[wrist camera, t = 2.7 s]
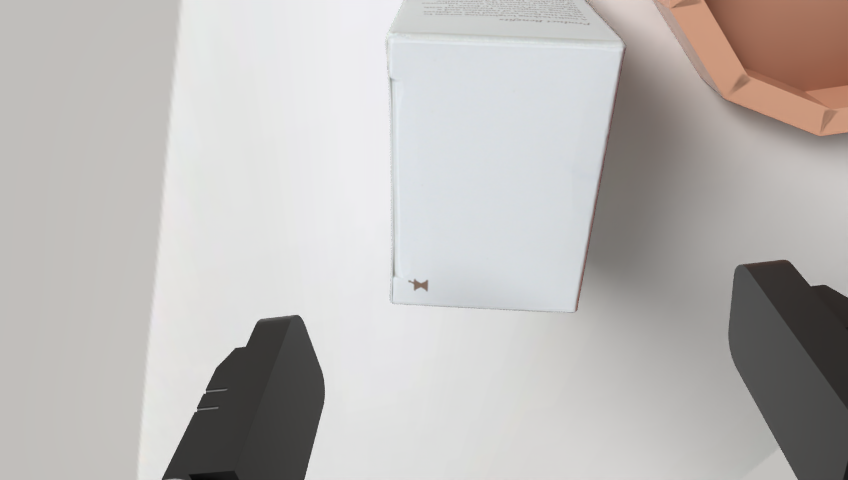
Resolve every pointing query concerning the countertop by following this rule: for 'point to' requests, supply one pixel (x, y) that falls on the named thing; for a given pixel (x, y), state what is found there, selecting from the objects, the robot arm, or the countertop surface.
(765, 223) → the countertop surface
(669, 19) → the round tray
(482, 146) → the small box
